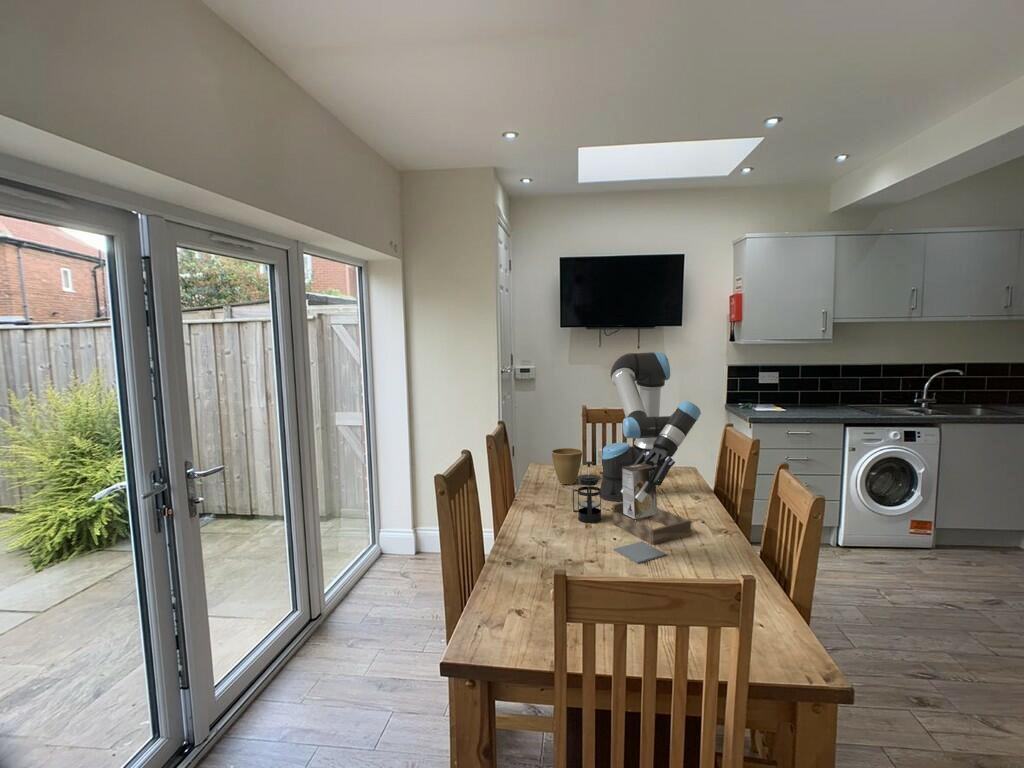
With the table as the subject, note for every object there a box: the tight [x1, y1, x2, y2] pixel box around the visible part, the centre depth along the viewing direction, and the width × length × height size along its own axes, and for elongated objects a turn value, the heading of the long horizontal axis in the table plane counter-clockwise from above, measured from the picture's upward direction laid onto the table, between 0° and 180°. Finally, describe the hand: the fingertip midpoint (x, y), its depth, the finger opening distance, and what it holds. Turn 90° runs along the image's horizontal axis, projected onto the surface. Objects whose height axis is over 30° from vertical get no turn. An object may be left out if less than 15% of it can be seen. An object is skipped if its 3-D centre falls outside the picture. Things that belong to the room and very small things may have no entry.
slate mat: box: [613, 540, 667, 565], centre depth 176 cm, size 12×12×1 cm
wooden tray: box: [612, 501, 692, 546], centre depth 196 cm, size 22×17×8 cm
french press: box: [572, 460, 603, 524], centre depth 208 cm, size 12×9×23 cm
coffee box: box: [622, 463, 658, 519], centre depth 174 cm, size 9×6×16 cm
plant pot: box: [551, 447, 583, 485], centre depth 258 cm, size 15×15×16 cm
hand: (630, 497), depth 172 cm, fingers closed on coffee box, 7 cm apart
